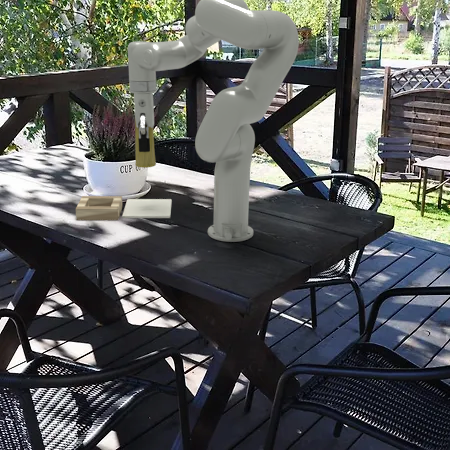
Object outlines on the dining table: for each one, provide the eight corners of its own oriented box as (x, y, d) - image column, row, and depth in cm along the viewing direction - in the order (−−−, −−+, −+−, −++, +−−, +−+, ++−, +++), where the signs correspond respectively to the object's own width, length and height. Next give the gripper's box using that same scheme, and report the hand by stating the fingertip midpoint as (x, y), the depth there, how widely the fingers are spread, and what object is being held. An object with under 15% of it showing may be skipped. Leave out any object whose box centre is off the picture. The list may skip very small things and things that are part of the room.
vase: (131, 166, 178) (129, 118, 173) (142, 161, 183) (141, 114, 178) (148, 168, 175) (146, 119, 170) (159, 164, 180) (158, 116, 175)
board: (170, 218, 177) (170, 216, 177) (122, 217, 176) (122, 216, 176) (171, 201, 192) (171, 199, 192) (127, 200, 191) (127, 199, 191)
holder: (118, 220, 174) (117, 208, 173) (76, 220, 174) (75, 208, 172) (122, 206, 186) (122, 196, 184) (83, 206, 185) (82, 196, 184)
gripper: (154, 90, 163) (156, 155, 169) (157, 83, 179) (158, 143, 186) (127, 90, 163) (130, 156, 169) (131, 83, 179) (134, 143, 185)
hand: (145, 148), depth 177 cm, fingers closed on vase, 5 cm apart
